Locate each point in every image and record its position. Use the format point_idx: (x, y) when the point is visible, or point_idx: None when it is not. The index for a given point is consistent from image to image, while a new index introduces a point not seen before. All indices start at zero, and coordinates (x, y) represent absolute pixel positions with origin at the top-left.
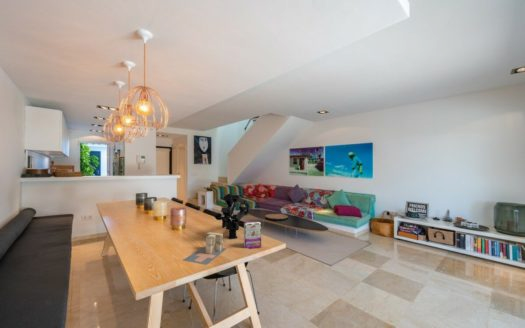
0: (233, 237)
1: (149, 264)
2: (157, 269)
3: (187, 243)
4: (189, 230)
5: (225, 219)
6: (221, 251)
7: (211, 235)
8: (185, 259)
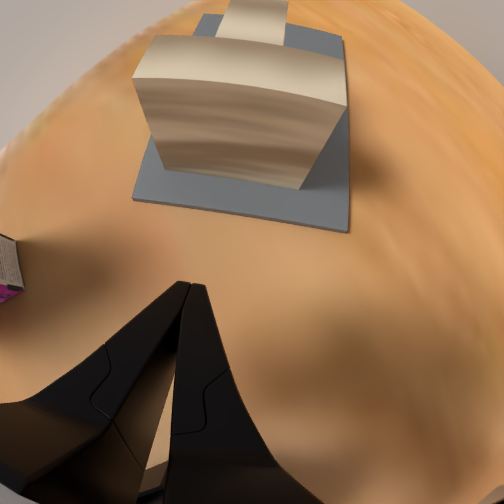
0: (157, 467)
1: (424, 40)
2: (372, 10)
3: (475, 259)
4: None
5: None
6: None
7: (257, 25)
8: (333, 40)
